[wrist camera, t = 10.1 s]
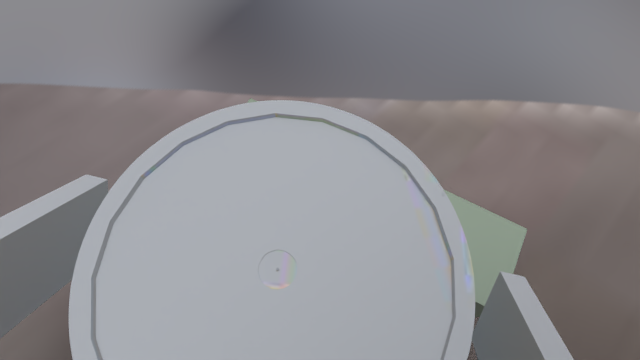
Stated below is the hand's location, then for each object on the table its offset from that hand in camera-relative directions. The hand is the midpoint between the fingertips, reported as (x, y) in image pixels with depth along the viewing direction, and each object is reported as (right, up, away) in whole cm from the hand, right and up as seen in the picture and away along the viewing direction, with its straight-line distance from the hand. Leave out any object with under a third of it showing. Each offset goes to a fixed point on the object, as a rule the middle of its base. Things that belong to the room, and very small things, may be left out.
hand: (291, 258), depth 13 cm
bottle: (0, -5, +7) cm, 8 cm away
